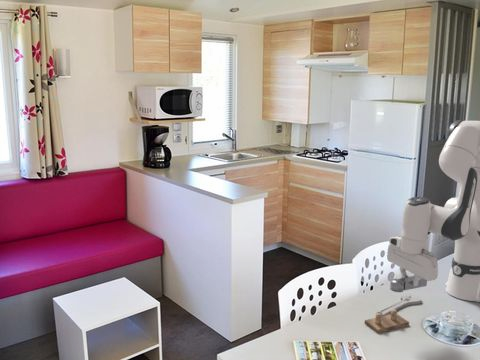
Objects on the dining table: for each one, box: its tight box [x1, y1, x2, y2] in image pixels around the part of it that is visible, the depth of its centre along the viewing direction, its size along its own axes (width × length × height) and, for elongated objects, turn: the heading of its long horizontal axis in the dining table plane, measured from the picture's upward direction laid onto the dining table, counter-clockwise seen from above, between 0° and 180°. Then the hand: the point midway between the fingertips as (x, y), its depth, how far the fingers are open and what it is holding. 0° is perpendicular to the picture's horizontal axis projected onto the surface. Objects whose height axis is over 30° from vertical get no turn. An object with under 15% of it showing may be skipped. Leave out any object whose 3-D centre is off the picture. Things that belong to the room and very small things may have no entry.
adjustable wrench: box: [375, 294, 422, 316], centre depth 180 cm, size 25×6×2 cm, turn 123°
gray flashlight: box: [389, 275, 428, 293], centre depth 161 cm, size 14×4×3 cm, turn 114°
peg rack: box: [364, 309, 410, 334], centre depth 166 cm, size 14×7×5 cm, turn 114°
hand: (409, 282), depth 161 cm, fingers closed on gray flashlight, 3 cm apart
